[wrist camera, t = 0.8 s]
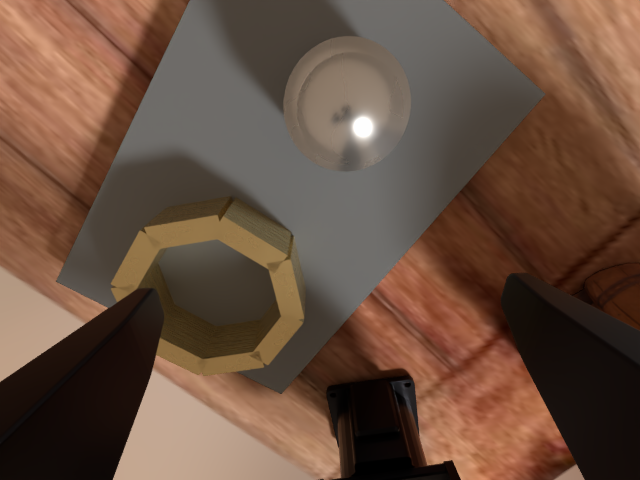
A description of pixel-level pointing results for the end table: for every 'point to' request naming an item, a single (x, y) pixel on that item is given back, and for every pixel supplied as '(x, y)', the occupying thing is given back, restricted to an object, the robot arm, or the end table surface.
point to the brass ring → (190, 330)
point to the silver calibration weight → (347, 103)
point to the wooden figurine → (615, 292)
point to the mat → (295, 158)
